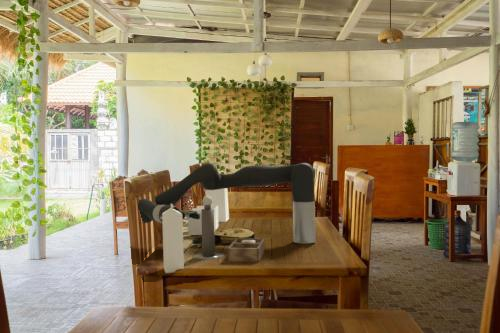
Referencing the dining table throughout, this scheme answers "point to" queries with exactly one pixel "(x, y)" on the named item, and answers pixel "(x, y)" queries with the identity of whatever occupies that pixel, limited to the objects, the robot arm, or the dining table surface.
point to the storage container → (196, 224)
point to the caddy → (246, 249)
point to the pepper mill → (208, 228)
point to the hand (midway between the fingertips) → (190, 217)
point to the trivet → (217, 255)
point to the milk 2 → (220, 203)
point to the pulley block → (228, 236)
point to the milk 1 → (172, 240)
